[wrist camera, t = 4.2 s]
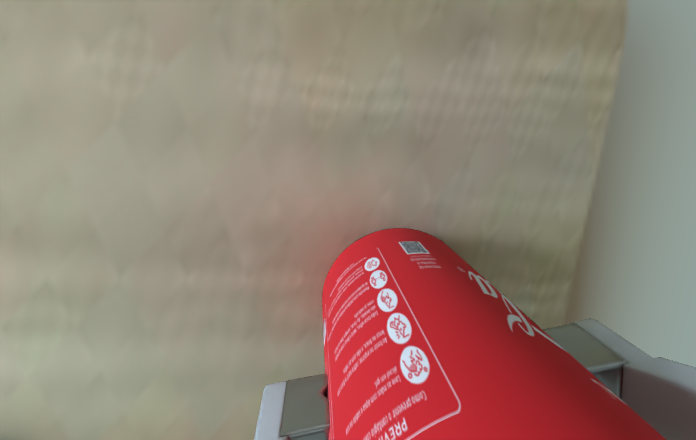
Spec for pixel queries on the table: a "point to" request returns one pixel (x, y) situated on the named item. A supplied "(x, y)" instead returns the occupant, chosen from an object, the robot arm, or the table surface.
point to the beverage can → (449, 355)
